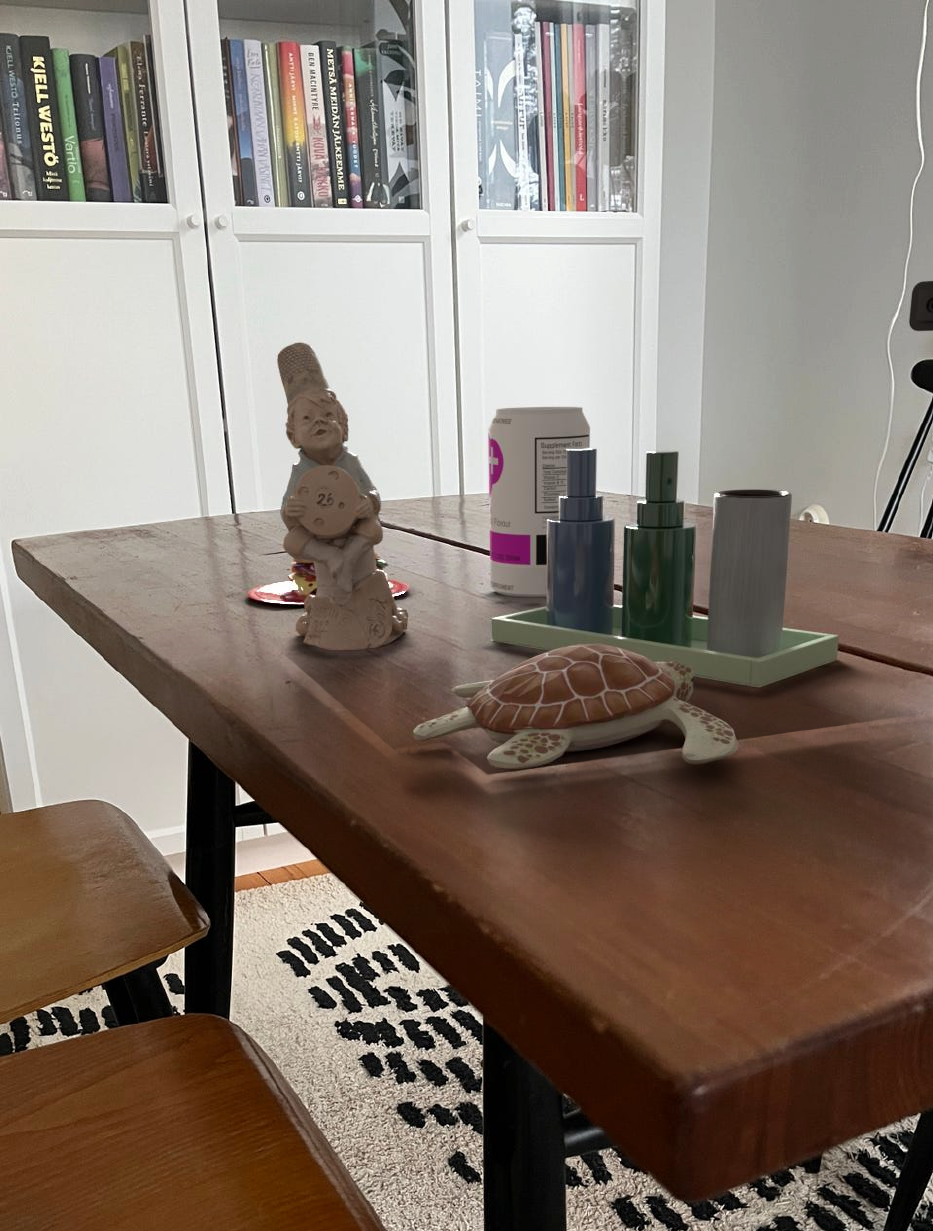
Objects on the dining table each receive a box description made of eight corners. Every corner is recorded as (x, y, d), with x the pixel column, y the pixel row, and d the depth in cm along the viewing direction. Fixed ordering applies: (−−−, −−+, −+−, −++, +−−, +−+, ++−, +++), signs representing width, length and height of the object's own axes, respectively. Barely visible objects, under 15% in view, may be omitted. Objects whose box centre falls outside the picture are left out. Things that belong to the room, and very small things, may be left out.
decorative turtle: (827, 748, 61) (835, 648, 59) (587, 826, 51) (589, 711, 50) (574, 684, 74) (575, 602, 73) (346, 737, 65) (340, 643, 63)
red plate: (240, 587, 111) (234, 519, 109) (391, 577, 115) (388, 511, 113) (256, 613, 99) (250, 538, 97) (425, 602, 102) (423, 528, 100)
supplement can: (483, 603, 101) (480, 410, 96) (499, 586, 108) (497, 407, 103) (582, 604, 100) (584, 408, 94) (591, 587, 107) (593, 405, 102)
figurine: (294, 633, 91) (273, 343, 84) (408, 629, 91) (396, 340, 84) (286, 660, 83) (262, 340, 75) (411, 655, 83) (399, 337, 76)
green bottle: (669, 639, 84) (676, 447, 79) (704, 652, 80) (714, 451, 75) (609, 645, 82) (612, 450, 78) (642, 659, 78) (647, 454, 74)
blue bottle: (594, 627, 88) (597, 445, 84) (624, 639, 84) (629, 448, 80) (536, 633, 86) (535, 448, 82) (563, 645, 82) (564, 451, 78)
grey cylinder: (694, 657, 78) (701, 490, 74) (759, 652, 79) (770, 487, 75) (724, 673, 74) (734, 497, 70) (793, 668, 75) (806, 494, 71)
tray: (836, 666, 77) (839, 635, 76) (758, 694, 71) (760, 660, 70) (575, 626, 91) (576, 599, 90) (491, 646, 85) (491, 618, 84)
